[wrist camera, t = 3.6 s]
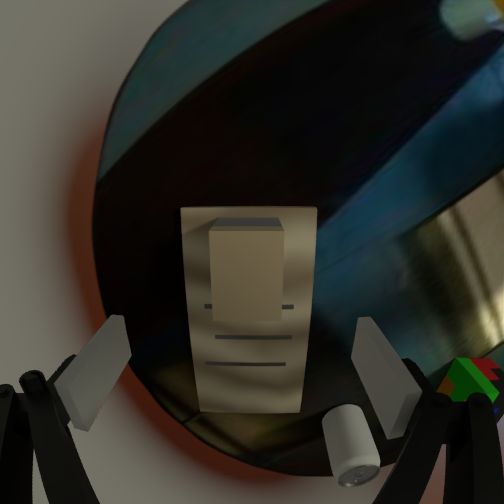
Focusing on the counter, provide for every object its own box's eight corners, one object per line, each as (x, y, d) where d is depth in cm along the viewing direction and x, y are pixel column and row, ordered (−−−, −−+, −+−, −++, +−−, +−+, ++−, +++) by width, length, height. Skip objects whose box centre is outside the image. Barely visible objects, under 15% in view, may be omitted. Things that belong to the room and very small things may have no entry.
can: (362, 398, 39) (386, 458, 27) (361, 424, 40) (380, 480, 29) (320, 408, 39) (334, 471, 28) (322, 433, 41) (334, 492, 29)
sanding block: (219, 217, 31) (208, 231, 24) (278, 217, 31) (284, 231, 24) (221, 290, 33) (213, 320, 26) (276, 290, 33) (281, 321, 26)
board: (182, 207, 32) (180, 208, 31) (315, 207, 31) (317, 208, 30) (201, 406, 39) (200, 411, 38) (298, 407, 39) (299, 412, 38)
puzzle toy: (463, 402, 40) (487, 435, 31) (427, 404, 40) (450, 444, 30) (490, 358, 38) (520, 389, 28) (455, 357, 37) (487, 394, 28)
